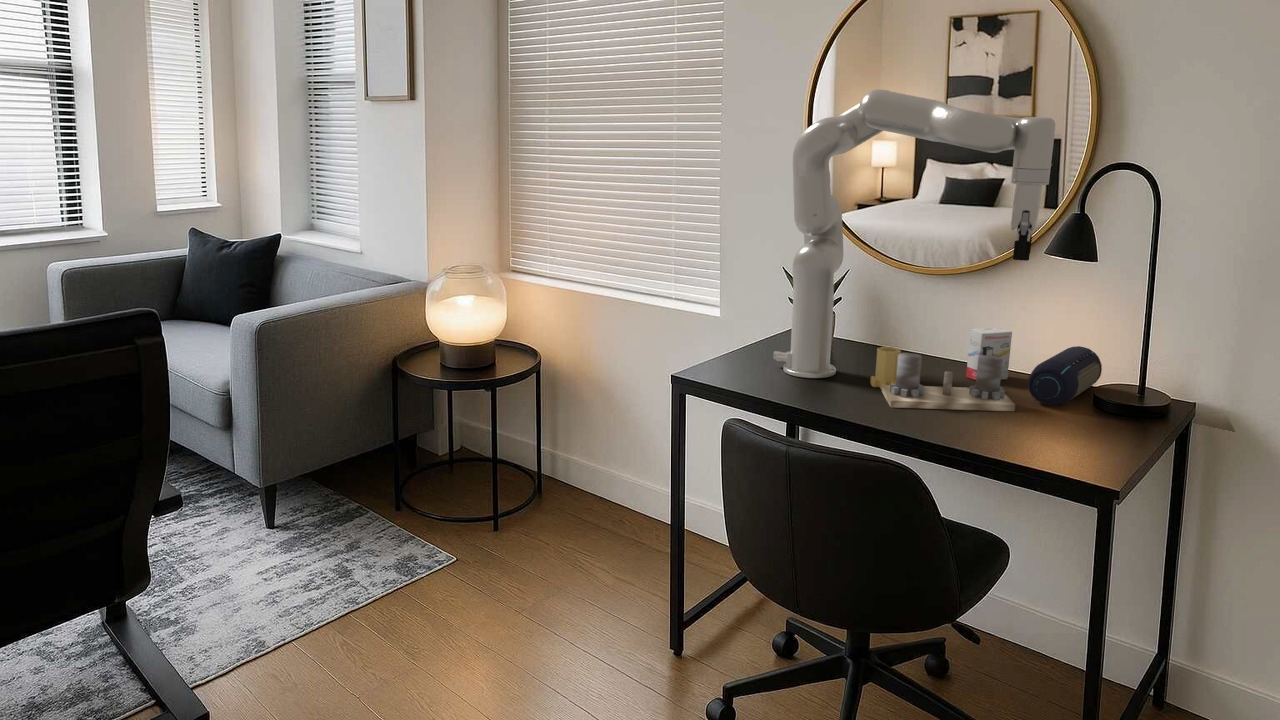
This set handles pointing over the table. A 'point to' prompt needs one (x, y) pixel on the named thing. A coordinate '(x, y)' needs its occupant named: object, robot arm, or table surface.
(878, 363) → the gear
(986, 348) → the ink box
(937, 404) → the board
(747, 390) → the table surface
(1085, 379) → the portable speaker
